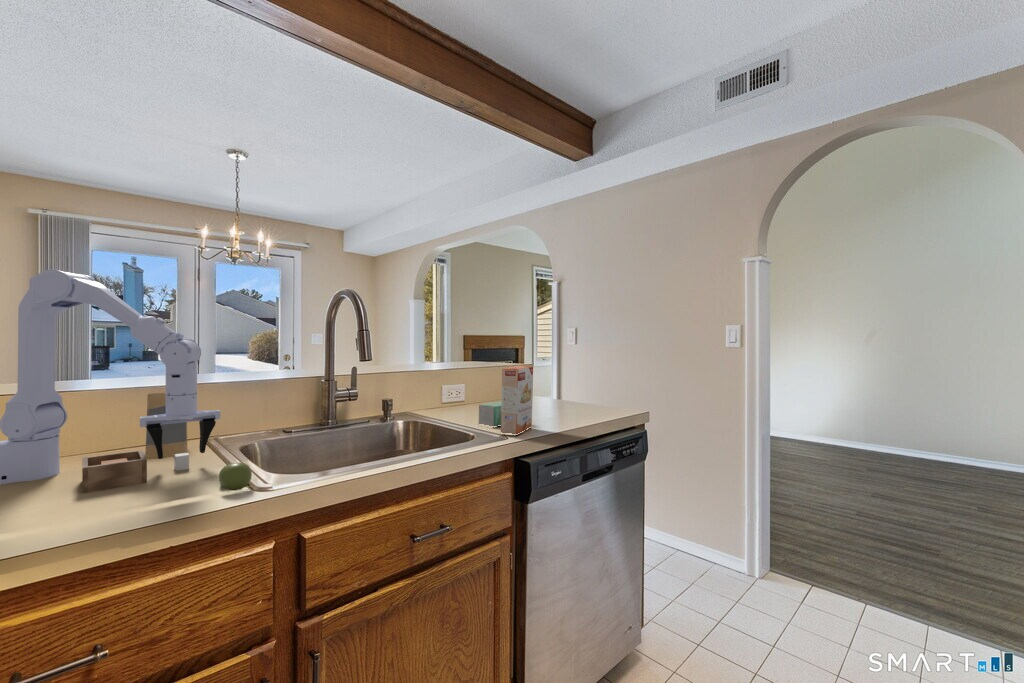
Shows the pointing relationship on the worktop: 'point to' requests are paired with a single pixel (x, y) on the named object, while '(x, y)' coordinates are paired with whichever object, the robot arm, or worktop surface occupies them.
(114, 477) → the walnut box
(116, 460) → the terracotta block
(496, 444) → the worktop surface
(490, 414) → the box
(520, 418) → the cracker box
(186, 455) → the lid
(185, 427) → the sandwich container
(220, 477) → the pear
